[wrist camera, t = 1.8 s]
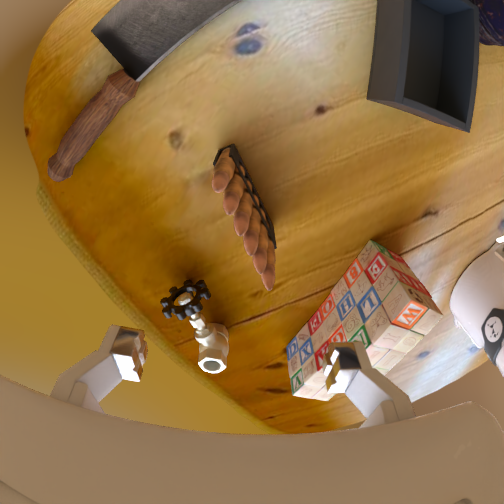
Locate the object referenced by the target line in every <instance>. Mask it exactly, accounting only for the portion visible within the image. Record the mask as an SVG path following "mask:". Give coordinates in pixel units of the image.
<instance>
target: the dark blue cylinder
mask: <svg viewBox="0 0 504 504" xmlns="http://www.w3.org/2000/svg"><path fill="white" fill-rule="evenodd" d="M469 1H470V2H472V3H473V4H475V5H476V6H477V7H478V9H479V42H480V43H482V44H484V45H498V46H504V0H469Z"/></svg>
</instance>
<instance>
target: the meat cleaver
mask: <svg viewBox="0 0 504 504" xmlns="http://www.w3.org/2000/svg"><path fill="white" fill-rule="evenodd" d="M239 1H241V0H120V1H119V2H118V3H117V4H116V5H115V6H114V7H113V8H112V9H111V10H110V11H109V12H108V13H107V14H106V15H105V16H104V17H103V18H102V19H101V20H100V21H99V22H98V23H97V25H96V26H95V27H94V28H93V29H92V30H91V31H92V32H93V34H94V35H95V36H96V37H97V38H98V39H99V40H100V41H101V43H102V44H103V45H104V46H105V47H106V48H107V49H108V51H109V52H110V53H111V54H112V55H113V56H114V57H115V59H116V60H117V61H118V62H119V63H120V64H121V65H122V67H123V68H124V69H121V70H119V71H117V72H115V73H113V74H111V75H109V76H108V78H107V80H106V82H105V83H104V85H103V87H102V89H101V90H100V91H99V92H98V93H97V94H96V95H95V96H94V97H93V98H92V99H91V100H90V101H89V102H88V104H87V105H86V106H85V108H84V109H83V110H82V112H81V113H80V114H79V116H78V117H77V118H76V120H75V121H74V123H73V124H72V126H71V127H70V128H69V130H68V131H67V133H66V134H65V136H64V137H63V139H62V140H61V143H60V145H59V148H58V151H57V153H55V154H54V155H53V156H52V157H51V158H49V161H48V175H49V177H50V178H51V179H53V180H54V181H57V182H60V181H62V180H64V179H66V178H69V177H70V176H71V175H72V173H73V169H74V166H75V164H76V163H77V162H78V161H79V160H80V159H82V158H83V157H84V155H85V154H86V153H87V151H88V150H89V148H90V147H91V146H92V145H93V143H94V142H95V141H96V139H97V138H98V137H99V135H100V134H101V133H102V132H103V130H104V129H105V128H106V127H107V125H108V124H109V123H110V122H111V121H112V119H113V118H114V117H115V116H116V114H117V112H118V111H119V109H120V108H121V106H122V105H123V104H125V103H126V102H127V101H129V100H130V99H132V98H133V97H135V94H136V91H137V88H138V85H139V83H140V80H141V79H143V78H144V77H145V76H146V75H147V74H148V73H149V72H150V71H151V70H152V69H153V68H154V67H155V66H156V65H157V64H158V63H159V62H160V61H162V60H163V59H164V58H165V57H166V56H167V55H168V54H169V53H171V52H172V51H173V50H174V49H175V48H177V47H178V46H179V45H180V44H181V43H183V42H184V41H185V40H186V39H187V38H189V37H190V36H191V35H193V34H194V33H195V32H196V31H198V30H199V29H200V28H202V27H203V26H204V25H206V24H207V23H208V22H210V21H211V20H213V19H214V18H215V17H217V16H218V15H220V14H221V13H223V12H224V11H226V10H227V9H229V8H230V7H232V6H233V5H235V4H236V3H238V2H239Z"/></svg>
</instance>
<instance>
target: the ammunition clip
mask: <svg viewBox="0 0 504 504" xmlns="http://www.w3.org/2000/svg"><path fill="white" fill-rule="evenodd" d="M213 165H214V167H215V168H214V171H213V179H212V187H213V190H214V191H215V192H218V193H219V192H221V191H223V196H224V200H223V207H224V210H225V212H226V214H228V215H232V214H233V215H234V228H235V231H236V233H237V234H238V235H239V236H243V241H244V247H245V250H246V252H247V254H248V255H250V256H253V263H254V267H255V269H256V271H257V272H258V273H259V274H261V277H262V281H263V284H264V286H265V287H266V289H267V290H268V291H270V290H271V289H272V288H273V285H274V281H275V261H276V260H275V250H274V249H276V248H277V247H276V241H275V234H274V227H273V225H272V223H271V220H270V218H269V216H268V214H267V212H266V210H265V207H264V205H263V203H262V201H261V199H260V197H259V195H258V192H257V190H256V188H255V186H254V184H253V182H252V180H251V178H250V176H249V173H248V171H247V169H246V167H245V165H244V163H243V161H242V159H241V157H240V155H239V153H238V151H237V149H236V147H235V144H231V145H229V146H227V147H225V148H223V149H220V150H218V153H217V155H216V157H215V160H214V162H213Z"/></svg>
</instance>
